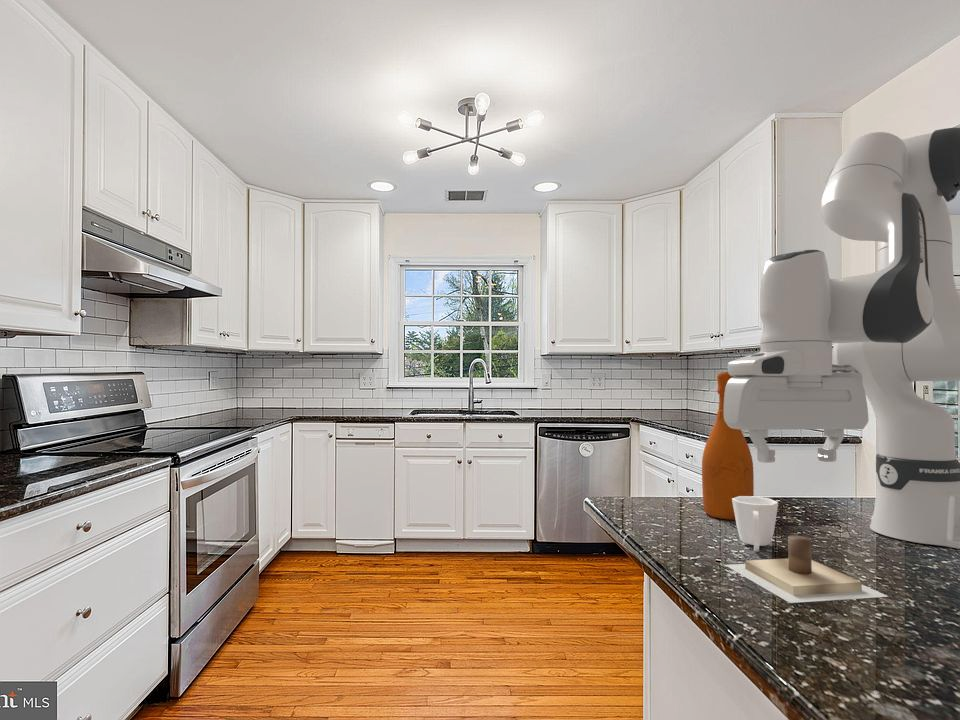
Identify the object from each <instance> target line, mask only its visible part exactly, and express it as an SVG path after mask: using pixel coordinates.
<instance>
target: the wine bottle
mask: <svg viewBox="0 0 960 720" xmlns="http://www.w3.org/2000/svg"><path fill="white" fill-rule="evenodd" d="M732 377H735V376H731V375H729V374H728V371H724V372H723V371H721V372H719V373H718V374H717V376H716V380H717V390H716V391H717V394H718V395H719V397H718V410H717V413H716V419H715V423H714V425H713V426H712V429H711V431H710V433H709V435H708V438H707V440H706V443H705V446H704V449H703V452H702V457H701V458H702V459H701V485H702V486H701V488H702V505H703V511H704V513H705V514H707V515H708V516H709V517H713V518H715V519H721V520H727V521H736V519H735V513H734V508H733V502H732V498H735V497H738V496H754V495H755V494H754V492H755V491H754V490H755V487H754V485H755V483H754V475H755V474H754V461H753V456H752V453H751V451H750V447H749V444H748V442H747V440H746V437H745V435H744V434H743V432H742V430H741V429H733V428H730V427H729V426H728V425H727V424H726V422H725V421H724V394H725V387H726V384H727V382H728V381H729V380H730V379H731V378H732Z"/></svg>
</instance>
